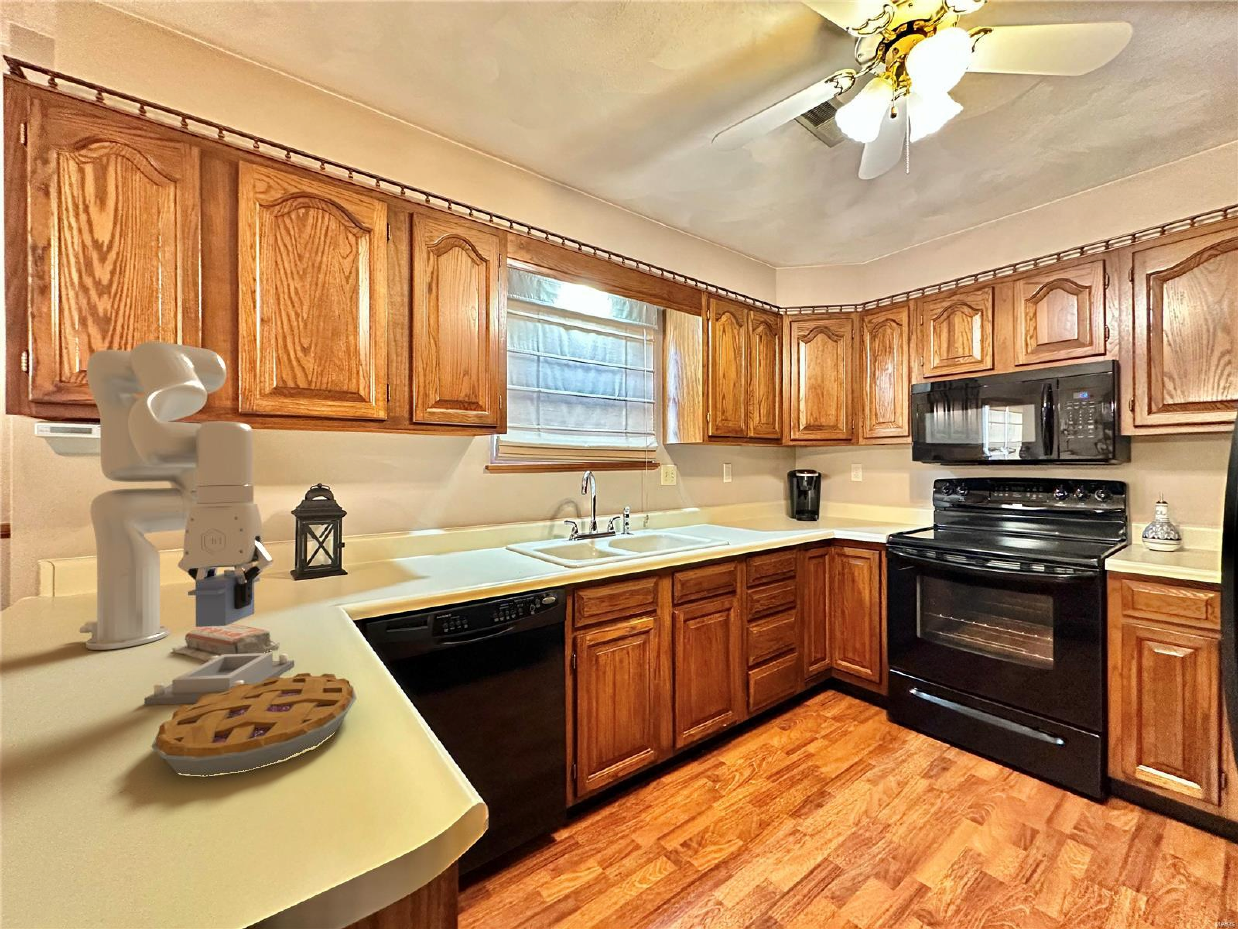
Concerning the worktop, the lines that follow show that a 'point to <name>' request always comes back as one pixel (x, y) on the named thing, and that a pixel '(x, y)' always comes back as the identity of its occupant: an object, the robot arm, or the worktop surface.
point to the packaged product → (226, 641)
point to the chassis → (219, 677)
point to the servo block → (219, 600)
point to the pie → (254, 724)
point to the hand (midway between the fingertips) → (226, 606)
